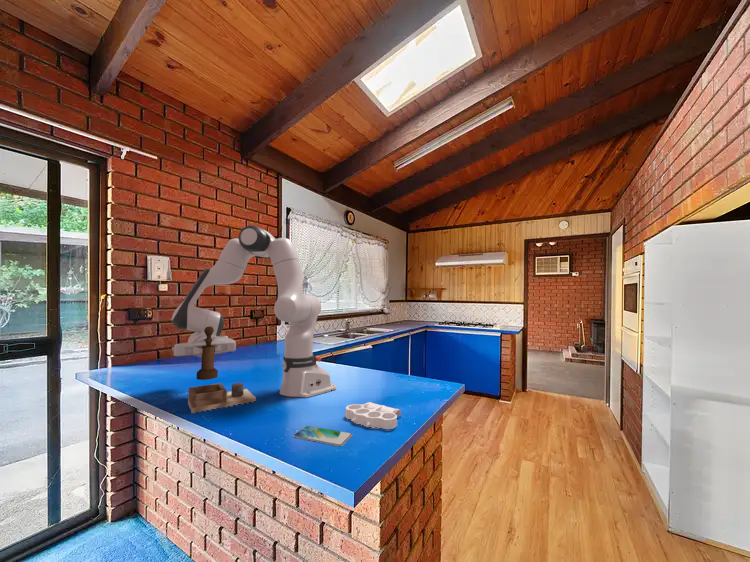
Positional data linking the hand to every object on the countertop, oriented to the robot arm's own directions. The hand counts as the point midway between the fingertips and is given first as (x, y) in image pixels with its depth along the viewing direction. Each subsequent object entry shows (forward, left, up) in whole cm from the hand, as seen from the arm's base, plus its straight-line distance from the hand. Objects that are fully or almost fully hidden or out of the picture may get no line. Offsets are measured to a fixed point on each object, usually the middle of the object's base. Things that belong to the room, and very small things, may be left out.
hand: (208, 350), depth 109 cm
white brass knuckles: (-40, +44, -20) cm, 63 cm away
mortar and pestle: (0, -1, -10) cm, 10 cm away
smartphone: (-22, +45, -20) cm, 54 cm away
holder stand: (-5, -1, -19) cm, 20 cm away
